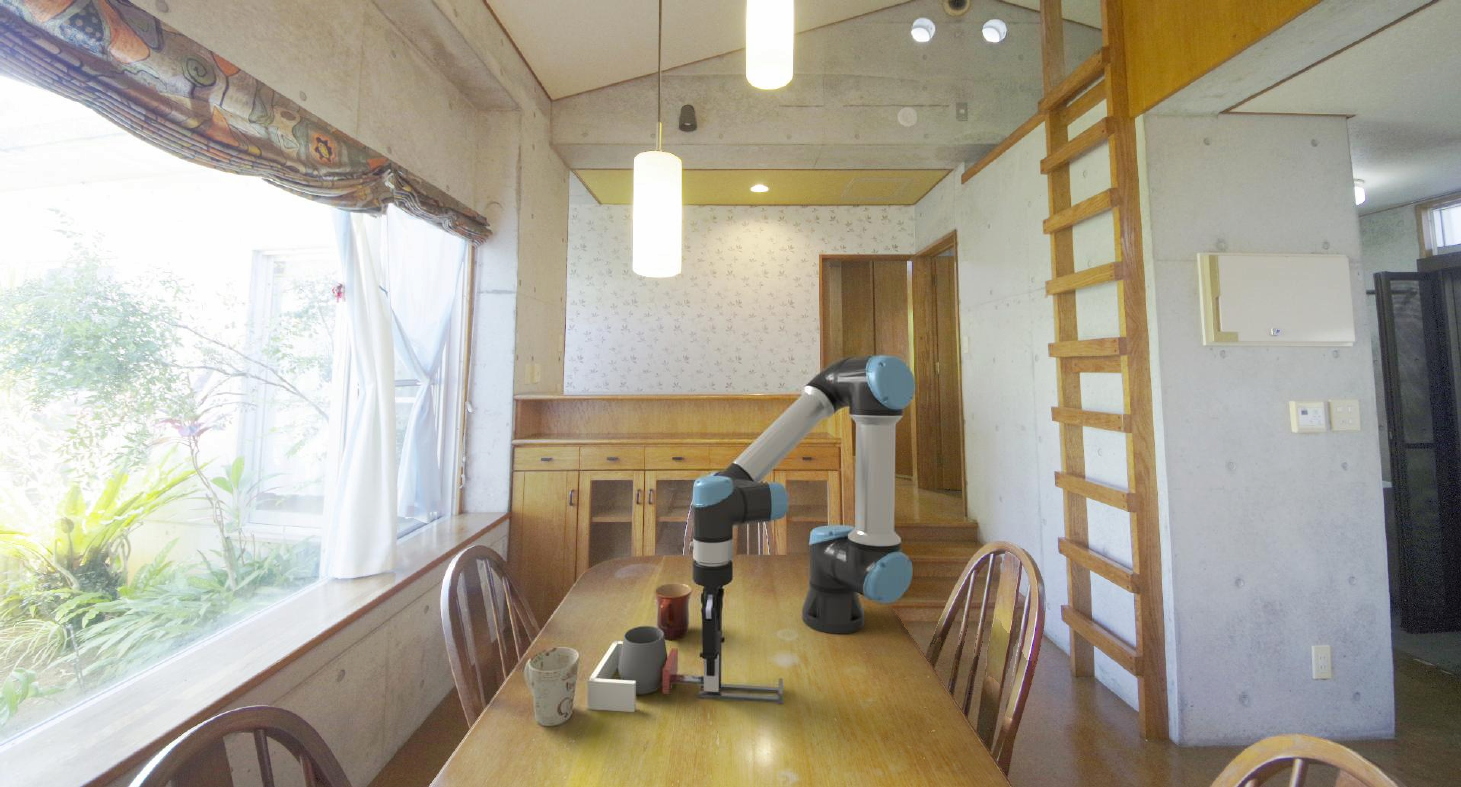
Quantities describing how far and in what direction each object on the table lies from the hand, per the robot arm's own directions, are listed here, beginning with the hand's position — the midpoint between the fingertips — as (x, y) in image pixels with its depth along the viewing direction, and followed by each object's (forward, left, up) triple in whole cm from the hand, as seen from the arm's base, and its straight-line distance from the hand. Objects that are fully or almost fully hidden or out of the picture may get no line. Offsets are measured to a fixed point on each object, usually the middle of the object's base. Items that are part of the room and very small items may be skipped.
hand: (712, 684), depth 99 cm
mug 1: (+28, +9, -2) cm, 30 cm away
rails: (-5, 0, -2) cm, 5 cm away
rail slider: (+3, 0, 0) cm, 4 cm away
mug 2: (+12, -21, -2) cm, 24 cm away
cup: (+13, 0, -2) cm, 14 cm away
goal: (+17, 0, -2) cm, 17 cm away
